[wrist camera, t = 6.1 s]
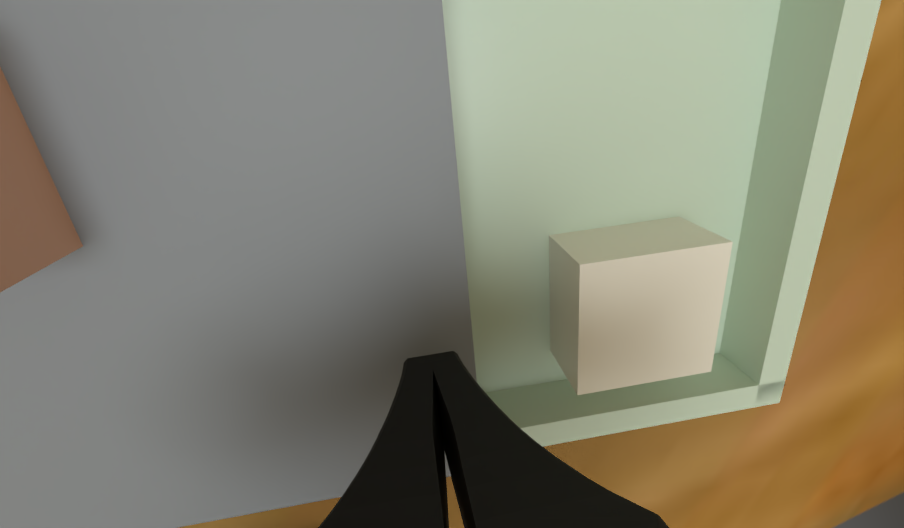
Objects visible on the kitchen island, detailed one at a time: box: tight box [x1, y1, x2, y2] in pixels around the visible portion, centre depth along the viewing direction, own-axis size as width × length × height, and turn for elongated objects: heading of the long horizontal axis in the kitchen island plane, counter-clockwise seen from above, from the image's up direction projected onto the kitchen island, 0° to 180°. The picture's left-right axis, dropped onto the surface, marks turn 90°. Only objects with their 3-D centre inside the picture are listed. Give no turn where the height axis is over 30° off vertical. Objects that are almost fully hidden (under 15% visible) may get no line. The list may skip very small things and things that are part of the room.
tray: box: [442, 0, 881, 447], centre depth 13 cm, size 16×11×2 cm
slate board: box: [0, 0, 477, 528], centre depth 12 cm, size 16×16×3 cm
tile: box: [549, 217, 733, 395], centre depth 14 cm, size 4×4×2 cm
